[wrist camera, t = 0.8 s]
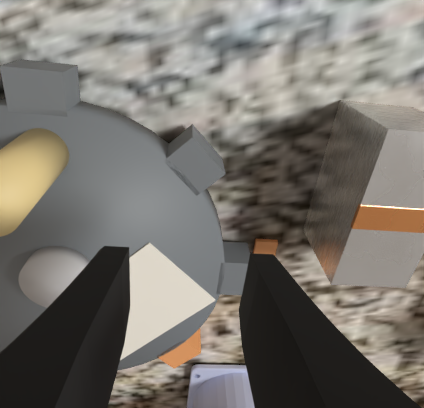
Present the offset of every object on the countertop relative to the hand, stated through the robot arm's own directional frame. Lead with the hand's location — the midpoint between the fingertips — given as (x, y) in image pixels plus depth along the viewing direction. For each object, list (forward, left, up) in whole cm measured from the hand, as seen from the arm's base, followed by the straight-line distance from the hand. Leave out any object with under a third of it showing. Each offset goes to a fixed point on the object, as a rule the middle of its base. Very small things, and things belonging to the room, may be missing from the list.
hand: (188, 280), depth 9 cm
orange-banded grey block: (-1, -10, -11) cm, 14 cm away
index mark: (-7, -5, -10) cm, 14 cm away
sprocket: (-7, +6, -10) cm, 14 cm away
